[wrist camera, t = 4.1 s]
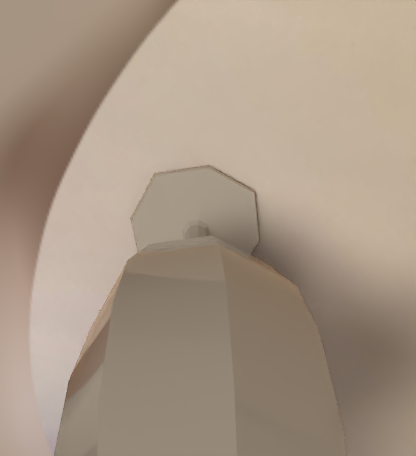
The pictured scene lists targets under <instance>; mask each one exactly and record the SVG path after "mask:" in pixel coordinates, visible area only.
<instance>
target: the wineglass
mask: <svg viewBox="0 0 416 456" xmlns="http://www.w3.org/2000/svg"><path fill="white" fill-rule="evenodd" d="M131 223H132V227H133V232H134V236H135V241H136V245H137V250H138V253H137V254H135V255H134V256H133V257H131V258H130V259H129V260H128V261H127V263H126V264H125V266H124V268H123V270H122V272H121V274H120V275H119V277H118V279H117V281H116V283H115V285H114V286H113V288H112V290H111V292H110V294H109V296H108V297H107V299H106V301H105V303H104V305H103V307H102V308H101V310H100V312H99V314H98V316H97V318H96V319H95V321H94V323H93V325H92V327H91V329H90V331H89V333H88V336H87V338H86V340H85V343H84V345H83V348H82V350H81V353H80V355H79V358H78V360H77V363H76V365H75V367H74V370H73V372H72V375H71V377H70V380H69V383H68V388H67V393H66V398H65V403H64V408H63V413H62V418H61V423H60V428H59V433H58V438H57V443H56V448H55V453H54V456H346V446H345V434H344V428H343V424H342V420H341V416H340V412H339V408H338V404H337V400H336V396H335V392H334V388H333V384H332V380H331V376H330V372H329V368H328V364H327V360H326V356H325V352H324V348H323V344H322V340H321V336H320V332H319V329H318V327H317V325H316V323H315V321H314V319H313V317H312V315H311V313H310V311H309V309H308V307H307V305H306V303H305V301H304V300H303V298H302V296H301V294H300V292H299V290H298V288H297V286H296V285H294V284H293V283H292V282H290V281H289V280H288V279H286V278H285V277H284V276H283V275H281V274H280V273H279V272H277V271H276V270H275V269H273V268H272V267H271V266H269V265H268V264H267V263H265V262H263V261H261V260H259V259H257V258H255V257H253V256H252V255H251V253H252V251H253V250H254V248H255V247H256V245H257V244H258V242H259V240H260V239H259V229H258V219H257V210H256V200H255V191H253V190H252V189H250V188H248V187H246V186H244V185H243V184H241V183H239V182H237V181H236V180H234V179H232V178H230V177H228V176H227V175H225V174H223V173H221V172H219V171H218V170H216V169H214V168H212V167H210V166H209V165H208V166H201V167H194V168H187V169H180V170H173V171H167V172H160V173H154V175H153V177H152V179H151V181H150V183H149V184H148V186H147V188H146V190H145V192H144V194H143V196H142V198H141V200H140V201H139V203H138V205H137V207H136V209H135V211H134V213H133V215H132V217H131Z"/></svg>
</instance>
